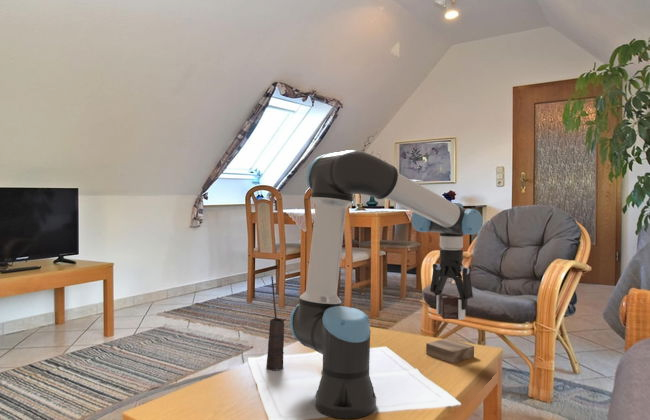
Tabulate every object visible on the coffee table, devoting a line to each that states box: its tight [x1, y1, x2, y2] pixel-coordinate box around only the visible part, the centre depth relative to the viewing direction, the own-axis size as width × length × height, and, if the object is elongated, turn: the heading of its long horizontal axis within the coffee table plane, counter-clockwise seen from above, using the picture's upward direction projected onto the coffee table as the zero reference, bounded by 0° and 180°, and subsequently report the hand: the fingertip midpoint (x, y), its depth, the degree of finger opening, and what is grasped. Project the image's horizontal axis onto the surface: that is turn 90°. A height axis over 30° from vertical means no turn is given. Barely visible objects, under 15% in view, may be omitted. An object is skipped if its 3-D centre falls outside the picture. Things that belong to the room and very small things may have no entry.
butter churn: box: [265, 275, 287, 371], centre depth 138 cm, size 9×10×28 cm
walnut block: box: [425, 337, 475, 364], centre depth 152 cm, size 11×11×4 cm
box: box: [439, 293, 461, 320], centre depth 152 cm, size 6×6×7 cm
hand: (450, 316), depth 152 cm, fingers closed on box, 8 cm apart
